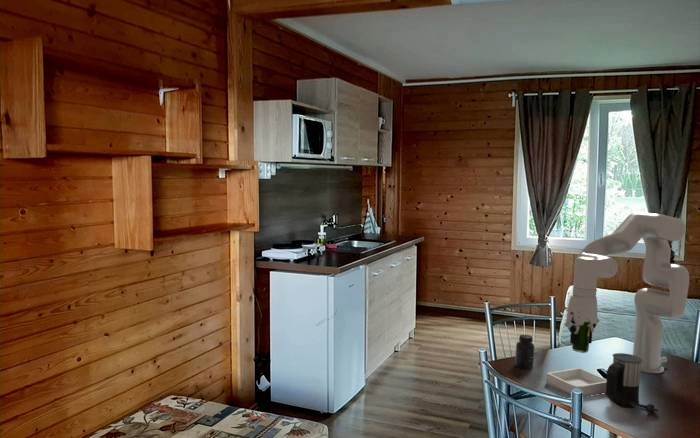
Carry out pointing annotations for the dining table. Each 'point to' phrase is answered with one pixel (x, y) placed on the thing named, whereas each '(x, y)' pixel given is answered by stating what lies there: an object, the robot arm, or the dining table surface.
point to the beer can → (583, 338)
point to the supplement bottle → (524, 352)
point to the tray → (576, 381)
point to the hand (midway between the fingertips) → (580, 342)
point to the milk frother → (625, 380)
